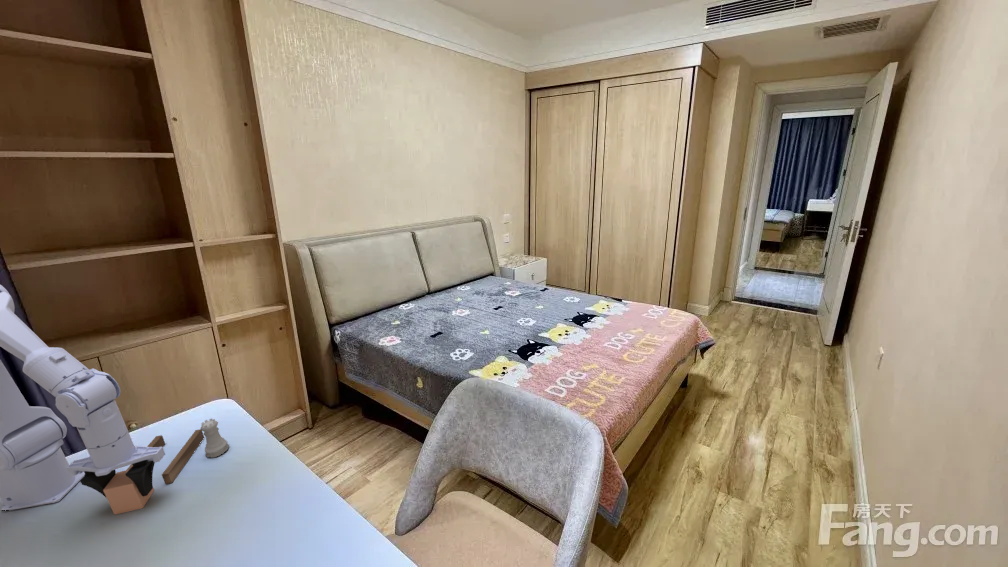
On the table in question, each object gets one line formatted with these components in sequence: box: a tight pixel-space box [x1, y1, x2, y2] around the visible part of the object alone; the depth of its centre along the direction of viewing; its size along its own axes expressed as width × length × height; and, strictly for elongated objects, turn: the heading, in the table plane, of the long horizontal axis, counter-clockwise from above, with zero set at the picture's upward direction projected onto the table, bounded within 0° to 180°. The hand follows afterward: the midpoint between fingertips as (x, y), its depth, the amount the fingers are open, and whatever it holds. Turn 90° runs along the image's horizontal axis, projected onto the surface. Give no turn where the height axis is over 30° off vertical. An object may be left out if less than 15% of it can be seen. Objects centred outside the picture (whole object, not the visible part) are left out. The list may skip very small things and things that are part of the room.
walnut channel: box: [126, 429, 205, 485], centre depth 88 cm, size 9×14×2 cm
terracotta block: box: [103, 469, 155, 516], centre depth 78 cm, size 4×4×6 cm
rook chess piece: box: [199, 418, 230, 459], centre depth 90 cm, size 4×4×8 cm
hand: (132, 494), depth 78 cm, fingers closed on terracotta block, 5 cm apart
